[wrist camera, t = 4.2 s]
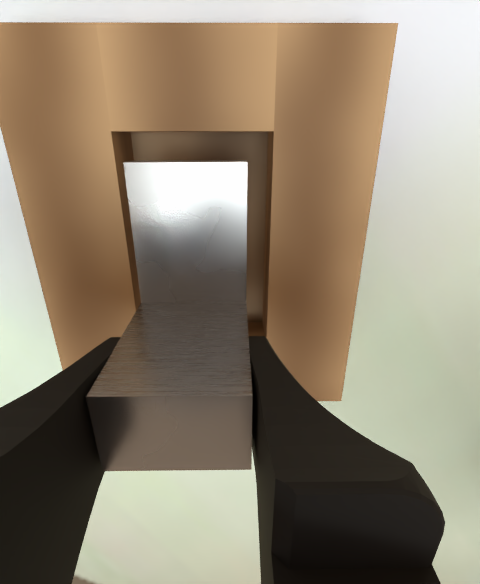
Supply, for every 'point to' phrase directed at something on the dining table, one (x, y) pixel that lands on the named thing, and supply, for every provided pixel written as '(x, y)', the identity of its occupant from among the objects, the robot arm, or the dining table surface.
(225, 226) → the steel bracket
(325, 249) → the oak well block
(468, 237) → the dining table surface
